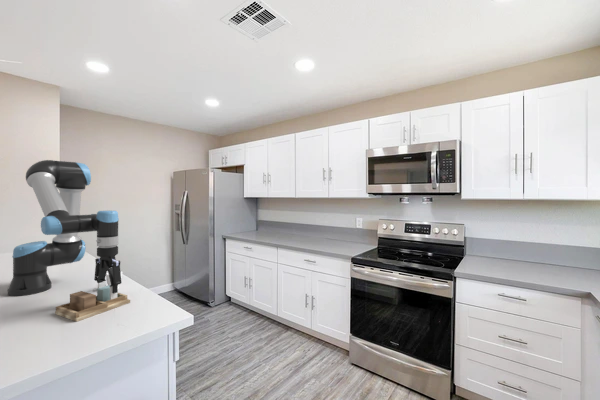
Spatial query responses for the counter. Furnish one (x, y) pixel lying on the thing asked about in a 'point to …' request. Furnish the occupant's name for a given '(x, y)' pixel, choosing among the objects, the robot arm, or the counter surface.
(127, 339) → the counter surface
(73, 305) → the brown wooden block
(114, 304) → the tray
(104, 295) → the pale teal block
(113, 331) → the counter surface
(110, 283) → the cup
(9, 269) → the counter surface
